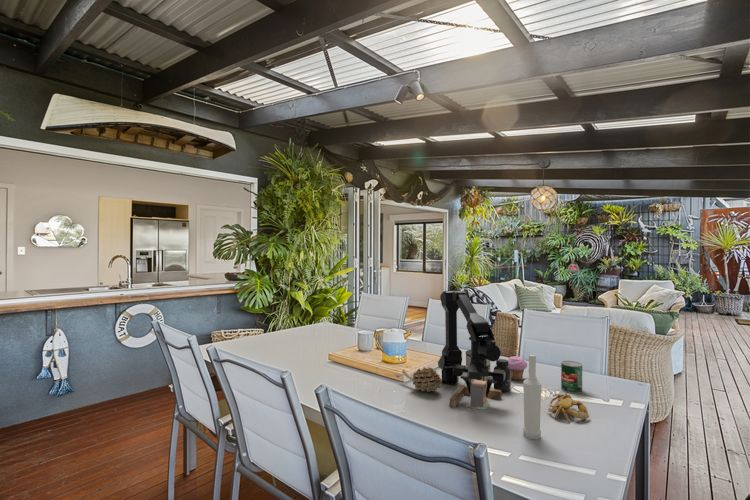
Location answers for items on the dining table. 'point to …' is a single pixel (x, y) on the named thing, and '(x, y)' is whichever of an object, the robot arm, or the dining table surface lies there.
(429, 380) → the pine cone
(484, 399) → the terracotta block
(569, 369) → the canned tomato
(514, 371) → the cupcake
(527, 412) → the bottle
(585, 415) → the crab model
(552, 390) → the dining table surface
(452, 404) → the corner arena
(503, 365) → the supplement bottle
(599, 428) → the dining table surface
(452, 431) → the dining table surface
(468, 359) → the coffee can
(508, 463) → the dining table surface
